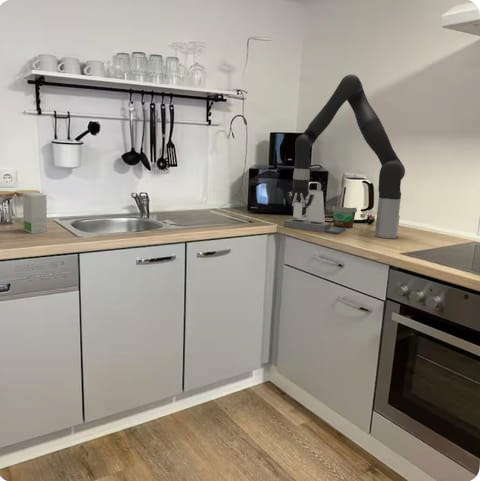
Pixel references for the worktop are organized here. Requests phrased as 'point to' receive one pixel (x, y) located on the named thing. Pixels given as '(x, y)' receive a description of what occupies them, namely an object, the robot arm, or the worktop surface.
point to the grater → (315, 206)
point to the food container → (343, 216)
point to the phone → (335, 230)
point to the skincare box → (35, 212)
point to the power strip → (307, 225)
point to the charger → (298, 210)
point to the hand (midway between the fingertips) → (298, 214)
